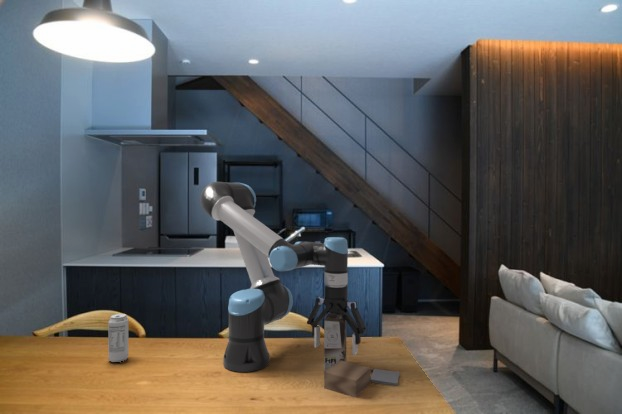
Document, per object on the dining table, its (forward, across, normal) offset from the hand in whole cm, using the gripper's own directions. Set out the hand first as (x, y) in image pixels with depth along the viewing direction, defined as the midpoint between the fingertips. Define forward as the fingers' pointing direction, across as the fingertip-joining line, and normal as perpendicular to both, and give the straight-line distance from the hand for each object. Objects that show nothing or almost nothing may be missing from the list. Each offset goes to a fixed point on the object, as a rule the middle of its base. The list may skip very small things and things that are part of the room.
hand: (335, 350), depth 129 cm
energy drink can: (+5, -66, -31) cm, 73 cm away
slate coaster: (+5, +17, -1) cm, 18 cm away
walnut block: (+6, +9, -11) cm, 15 cm away
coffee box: (+6, 0, 0) cm, 6 cm away
